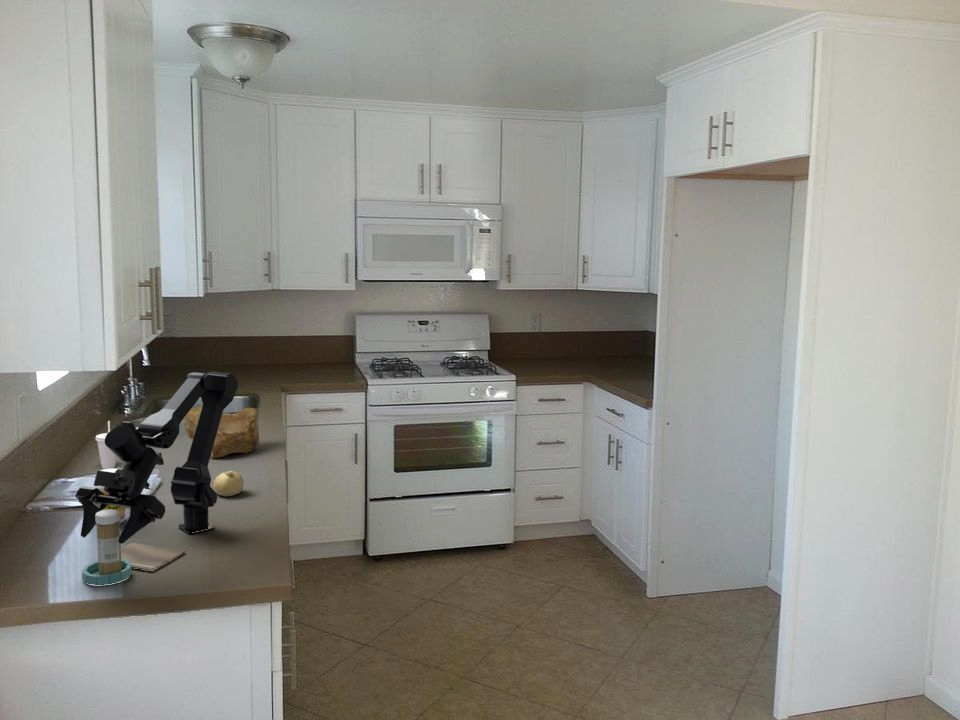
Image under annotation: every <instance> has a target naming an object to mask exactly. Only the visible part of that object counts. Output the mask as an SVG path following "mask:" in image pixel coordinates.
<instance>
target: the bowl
mask: <svg viewBox="0 0 960 720" xmlns="http://www.w3.org/2000/svg"><path fill="white" fill-rule="evenodd" d="M121 569H122V570H121V571H120V572H116V573H113V574H108V575H98V573H99V562H98V561H97V560H95V561H92V562H90V563H88V564H87V565H84V567H83V569H82V570H81V578H82V582H83V581H84V582H85V583H88V584H95V585H104V584H105V585H106V584H112V583H116V582H119V581H121V580H124V579H126V578H127V577H129V576H130V575H131V573H132V571H133V569H132V563H130V562H129V561H128V560H124V559H121ZM132 574H133V573H132ZM131 576H132V575H131ZM84 582H83V583H84ZM85 583H84V584H85Z"/></svg>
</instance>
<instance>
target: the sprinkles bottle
mask: <svg viewBox="0 0 960 720" xmlns="http://www.w3.org/2000/svg"><path fill="white" fill-rule="evenodd" d="M95 520H96V525H95V526H96V543H97V560H98V562H99V573H98V575H108V574H113V573H116V572H120V571H121V570H122V569H121V548H122V544H120V543H119V542H118V540H119V538H120V535H121V533H120V531H121V530H120V524H119V522H120V512H119V511H118V510H114V509H108V510H102V511H99V512H97V513H96V515H95Z"/></svg>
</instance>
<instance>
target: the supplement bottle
mask: <svg viewBox="0 0 960 720" xmlns="http://www.w3.org/2000/svg"><path fill="white" fill-rule="evenodd" d="M118 469H119V468H110V469H104V468H103V469H101V470H100V471H106V472H113V473H115V471H116V470H118ZM94 487H95V488H98V489H99V490H100V491H101V492H102V493H104V494H105V495H109V494H110V493H108V492H106V491H105V490H104V488H105V487H102V486H94ZM108 509H114V510H118V511H119V512H120V522H119V525H120V524H121V523H124V522H125V519H126V507H120V506H113V505H107V507H106V508H105V509H103V510H108Z"/></svg>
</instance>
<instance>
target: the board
mask: <svg viewBox="0 0 960 720" xmlns="http://www.w3.org/2000/svg"><path fill="white" fill-rule="evenodd" d="M184 552H185V553H186V550H181V549H175V548H169V547H162V546H156V545H150V544H144V543H138V542H130V543H129V544H126V545H124V546H121V559H124V560H128V561H129V562H130V563H132V568H138V569H145V570H154V569H155V568H158V567H159V566H161V565H162V564H164V563H166V562H168V561H169V560H171V559H173V558H175V557H177V556H178V555H180V554H182V553H184ZM96 561H98V559H97V560H96Z"/></svg>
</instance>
